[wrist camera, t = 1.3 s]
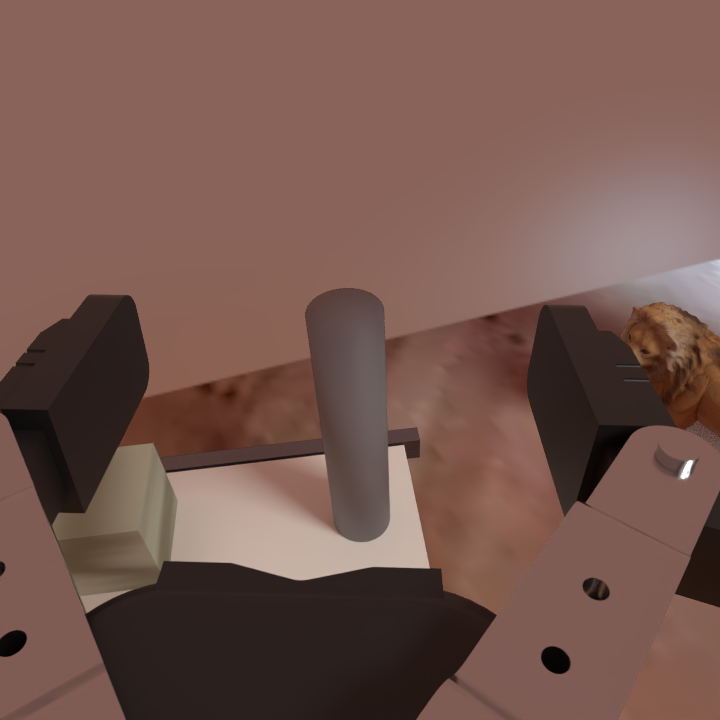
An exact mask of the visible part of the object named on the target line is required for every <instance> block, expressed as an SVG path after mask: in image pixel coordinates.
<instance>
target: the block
mask: <svg viewBox="0 0 720 720" xmlns="http://www.w3.org/2000/svg"><path fill="white" fill-rule="evenodd" d="M177 503H178V500H177V498H176V495H175V493H174V491H173V488H172V486H171V484H170V481H169V479H168V477H167V474H166V472H165V470H164V467H163V465H162V463H161V461H160V458H159V456H158V454H157V451H156V449H155V447H154V444H153V443H149V444H140V445H132V446H123V447H118V448H117V450H116V452H115V454H114V456H113V458H112V460H111V462H110V464H109V466H108V468H107V470H106V472H105V474H104V476H103V478H102V480H101V482H100V484H99V486H98V488H97V490H96V492H95V494H94V496H93V498H92V500H91V502H90V504H89V506H88V508H87V510H86V513H58V515H57V517H56V519H55V521H54V523H53V525H52V527H53V530H54V532H55V534H56V537H57V539H58V542H59V544H60V547H61V549H62V552H63V554H64V557H65V559H66V562H67V564H68V567H69V569H70V572H71V574H72V577H73V579H74V582H75V584H76V587H77V589H78V592H79V594H80V596H86V595H94V594H102V593H110V592H118V591H126V590H133V589H137V588H140V587H143V586H146V585H150V584H155V583H157V580H158V577H159V574H160V571H161V568H162V565H163V562H164V561H171V553H172V544H173V536H174V528H175V519H176V511H177Z"/></svg>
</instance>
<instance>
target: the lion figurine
mask: <svg viewBox="0 0 720 720" xmlns="http://www.w3.org/2000/svg"><path fill="white" fill-rule="evenodd" d="M620 339H621V340H622V341H624V342H625V343H626V344H628V345H629V346H630V347H631V348H632V350H633V352H634V354H635V355H636V357H637V359H638V360H639V362H640V364H641V366H640V367H641V368H643V369H644V371H645V373H646V374H647V376H648V378H649V382H651V383H652V385H653V386H654V388H655V390H656V392H657V393H658V395H659V397H660V398H661V400H662V402H663V404H664V405H665V407H666V409H667V411H668V412H669V414H670V416H671V417H672V419H673V421H674V423H675V424H676V426H677V428H679V429H682V430H685V429H686V428H688V427H690V426H692V425H693V424H694V423H695V422H696V420H698V421H700V422H701V423H702V424H703V425H704V426H706V427H707V428H708V429H710V430H711V431H712V432H714V433H715V434H717V435H718V436H720V338H719V337H718V336H717V335H714V333H713V332H711V331H710V330H709V329H708V326H707V325H706V324H705V323H702V322H700V321H699V319H698V318H697V317H695V316H692V315H690V314H689V313H688V312H687V311H682V309H681V308H679V307H676V306H674V305H666V304H665V303H663V302H660V303H653V304H650V305H648V306H647V305H645V306H644V307H643V308H639V307H633V312H632V315H631V318H630V319H629V320H628V323H627V325H626V326H625V328H624V330H623V332H622V334H621V336H620Z"/></svg>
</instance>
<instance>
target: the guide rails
mask: <svg viewBox="0 0 720 720" xmlns="http://www.w3.org/2000/svg"><path fill="white" fill-rule="evenodd" d="M399 445H404V447H405V452H406V457H407V458H415V457H419V456H420V438H419V434H418V430H417V427H416V428H407V429H399V430H390V431H388V447H391V446H399ZM324 454H325V453H324V446H323V439H314V440H306V441H297V442H289V443H280V444H272V445H263V446H255V447H246V448H238V449H229V450H221V451H212V452H204V453H195V454H187V455H178V456H170V457H161V458H160V461H161V463H162V465H163V467H164V470H165V472H166V473H173V472H181V471H189V470H198V469H206V468H215V467H223V466H231V465H240V464H248V463H257V462H265V461H273V460H282V459H290V458H299V457H307V456H315V455H324Z"/></svg>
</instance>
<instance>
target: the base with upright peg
mask: <svg viewBox="0 0 720 720" xmlns="http://www.w3.org/2000/svg"><path fill="white" fill-rule="evenodd" d="M305 318H306V325H307V332H308V339H309V346H310V353H311V361H312V368H313V375H314V382H315V389H316V396H317V403H318V411H319V418H320V425H321V432H322V439H323V446H324V453H325V454H324V455H315V456H307V457H299V458H290V459H282V460H273V461H265V462H257V463H248V464H240V465H231V466H223V467H215V468H206V469H198V470H189V471H181V472H173V473H166V474H167V477H168V479H169V481H170V484H171V486H172V488H173V491H174V493H175V495H176V498H177V500H178V503H177V511H176V519H175V528H174V536H173V544H172V553H171V561H184V562H220V563H234V564H238V565H241V566H245V567H249V568H253V569H256V570H260V571H264V572H268V573H271V574H275V575H279V576H282V577H286V578H290V579H294V580H308V579H313V578H319V577H324V576H329V575H334V574H339V573H344V572H349V571H354V570H359V569H364V568H369V567H397V568H430V567H429V562H428V558H427V553H426V548H425V543H424V538H423V534H422V529H421V524H420V519H419V514H418V510H417V505H416V500H415V495H414V490H413V486H412V481H411V476H410V471H409V466H408V462H407V457H406V452H405V447H404V445H399V446H391V447H388V427H387V394H386V360H385V329H384V328H385V326H384V307H383V305H382V303H381V301H380V300H379V299H378V298H377V297H376V296H375V295H373V294H371V293H369V292H367V291H364V290H360V289H354V288H343V289H336V290H331V291H328V292H325V293H323V294H321V295H319V296H317V297H316V298H315V299H313V300H312V301H311V302H310V304H309V305H308V307H307V309H306V312H305ZM133 590H134V589H133ZM128 591H131V590H126V591H118V592H110V593H102V594H94V595H86V596H80V597H81V599H82V602H83V604H84V607H85V609H86V612H87V613H88V612H89V611H91V610H92V609H94V608H96V607H97V606H99V605H101V604H103V603H104V602H106V601H108V600H110V599H112V598H114V597H116V596H119V595H121V594H123V593H126V592H128Z"/></svg>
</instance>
